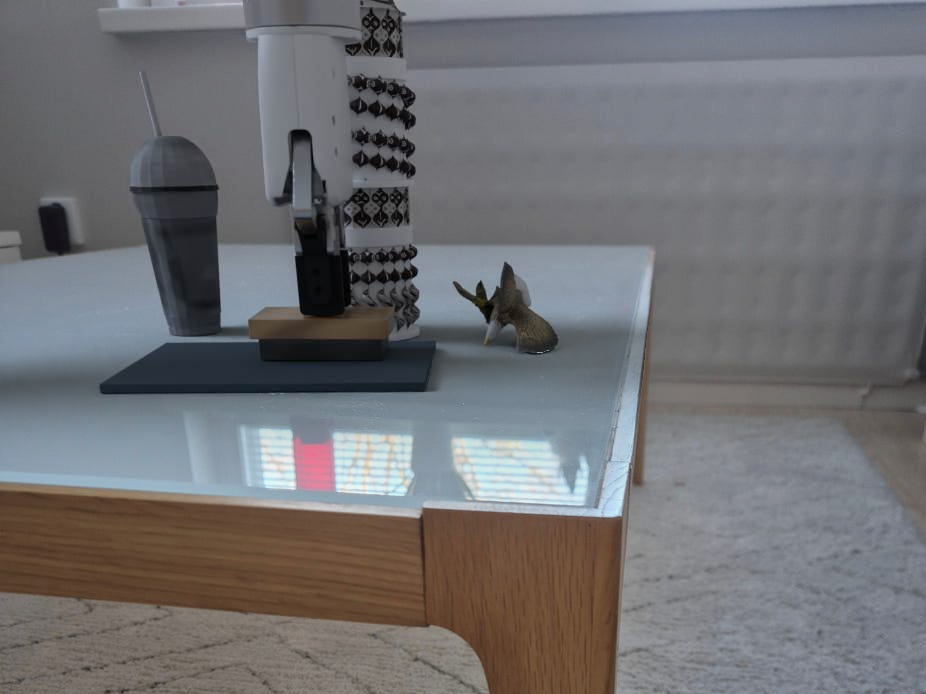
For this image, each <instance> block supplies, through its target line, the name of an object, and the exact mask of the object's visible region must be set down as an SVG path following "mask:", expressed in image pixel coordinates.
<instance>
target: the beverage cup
mask: <svg viewBox="0 0 926 694" xmlns="http://www.w3.org/2000/svg"><path fill="white" fill-rule="evenodd" d="M138 74H139V77H140V81H141V85H142V86H141V87H142V89H143V94H144V97H145V100H146V104H147V108H148V112H149V116H150V120H151V124H152V128H153V132H154V135H153V136H151V137H149V138H148V139H146V140H145V141H144V142H142V143H141V145H139V147H138V148H137V150H136V152H135V154H134V155H133V158H132V161H131V165H130V171H129V182H130V186H129V192H130V193H132V194H131V195H132V198H133V203H134V207H135V209H136V212H137V215H138V217H139V218H140V220H141V224H142V228H143V233H144V237H145V241H146V245H147V249H148V253H149V257H150V263H151V266H152V271H153V274H154V278H155V282H156V286H157V291H158V294H159V295H158V296H159V299H160V303H161V307H162V311H163V315H164V316H165V317H164V318H165V320H166V324H167V326H168V332H169V334H170V335H171V336H172V335H173V336H179V337H180V336H181V337H196V336H197V337H199V336H208V335H213V334H217V333H220V332H221V331H222V324H221V323H222V317H221V314H222V303H221V302H222V301H221V285H220V284H221V283H220V282H221V281H220V263H219V242H218V241H219V240H218V224H217V223H218V222H217V221H218V220H217V216H218V211H219V195H218V194H219V193H218V191H219V190H220V187H219V185H218V183H217V179H216V175H215V171H214V168H213V166H212V164H211V162H210V160H209V158H208V157H207V156H206V154H205V153H204V152H203V150H202V149H201V148H200V147H199V146H198V145H196V144H195V143H194V142H193V141H191V140H189V139H188V138H186V137H184V136H182V135H163V134H162V133H163V132H162V130H161V127H160V121H159V119H158V113H157V111H156V110H157V109H156V107H155V102H154V98H153V95H152V91H151V87H150V83H149V79H148V76H147V72H146V70H142V71H141V70H140V71H138Z"/></svg>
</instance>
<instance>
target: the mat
mask: <svg viewBox="0 0 926 694" xmlns="http://www.w3.org/2000/svg"><path fill="white" fill-rule="evenodd" d="M436 349H437V341H436V340H399V341H389V348H388V350H387V352H386V354H385V356H384V358H383V360H382V361H263V360H261V358H260V348H259V341H204V342H203V341H200V342H199V341H198V342H196V341H195V342H190V341H189V342H188V341H187V342H183V341H182V342H164V343H163V344H162V345H160V346H158V347H157V348H155V349H154V350H152V351H151V352H149V353H147V354H146V355H143V357H141V358H139V359H138V360H136V361H134V362H132V363H131V364H130V365H128V366H126V367H125V368H123V369H122V370H120V371H118V372H117V373H115V374H113V375H112V376H109V378H107V379H106V380H104V381H103V382H101V383H99V384H98V387H99V393H101V394H169V393H170V394H175V393H177V394H178V393H182V394H184V393H185V394H186V393H190V394H191V393H301V392H302V393H304V392H305V393H306V392H309V393H311V392H312V393H313V392H315V393H317V392H319V393H320V392H323V393H324V392H425V391H426V388H427V385H428V380H429V377H430V373H431V368H432V365H433V361H434V357H435V353H436Z"/></svg>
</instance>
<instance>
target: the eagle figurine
mask: <svg viewBox="0 0 926 694" xmlns="http://www.w3.org/2000/svg"><path fill="white" fill-rule="evenodd" d="M452 284H453V287H454V288H455V290H456V291H457V293H458V294H459V295H460V296H461V297H462V298H464V299H465V300H467V301H469V302H471V303H472V304H474V305H475V307H476V308H478V310H479V312H480V313H481V314H482V315H483V318H484V319H485V323H486V324H488V327H487V329H486V334H485V340H484V342H483V346H487V345H488V344H489V343H490V342H492V341H494V340H496V339H497V337H498V336H499V334H500V333H501V331H502V329H504V328H505V327H506V326H508V325H512V326H513V328H514V329H515V332H516V348H517V350H518V351H523V352H524V353H531V354H533V353H537V352H544V351H545V352H547V351H546V350H550V351H551V350H552V348H555V349H556V347H558V346H559V338H558V334H557V332H556V331H555V329H554V328H553V326H552V325H551V324H550V323H549V321H547V320H546V319H545V318H543V317H542V316H541V315H539V314H538V313H536V312H535V311H534V310H533V309H531V308H530V307H531V306H532V298H531V295H530V290H529V288H528V285H527V283H526V281H525V280H523V279H522V278H521V276H519V275H518V274H517V273H515V272H514V269H513V266H512V265H510V264H509V263H508V262H507V261H504V262H503V266H502V270H501V275H500V282H499V286H498V285H496V286H495V290H494V292H493V294H492V296H491V297H490V298H489V299H488V296H487V290H486V288H485V286H484V283H483V280H481V279H480V280H479V282H478V283H477V284H476V286H475V295H474V294H472V293H471V292H469V291H468V290H466V288H464V287H463V286H462V285H461V284H460V283H459V282H457V281H456V280H454V281H453V282H452Z"/></svg>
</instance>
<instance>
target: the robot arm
mask: <svg viewBox="0 0 926 694" xmlns="http://www.w3.org/2000/svg"><path fill="white" fill-rule="evenodd" d="M242 7H243V19H244V27H245V37H246V41H247V42H248V43H251V44H257V81H258V83H257V84H258V104H259V117H260V118H259V121H260V135H261V149H262V165H263V177H264V178H263V179H264V180H263V181H264V191H265V198H266V200H267V201H268V203H269V204H270V205H271V206H272V207H274V208H282V207H286V206H290V205H291V218H292V229H293V230H292V231H293V242H294V252H295V255H294V264H295V273H296V285H297V286H296V287H297V295H298V307H300V312H301V313H302V314H303V315H341V314H342V313H343V312H344V311H345V307H348V306H349V305H350V304H351V301H352V300H351V286H350V271H349V257H348V250H340V255H336V235H335V224H337V225H338V230H339V245H340V249H346V236H345V224H344V212H343V203H344V202H345V201H347V200H348V199H349V198H350V197H351V196H352V193H353V160H352V137H351V119H350V104H349V90H348V77H347V64H346V51H345V45H348V44H356V43H359V42H362V35H361V19H360V1H359V0H242ZM318 199H320V201H318ZM315 200H317V201H315ZM324 225H325V226H324Z"/></svg>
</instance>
